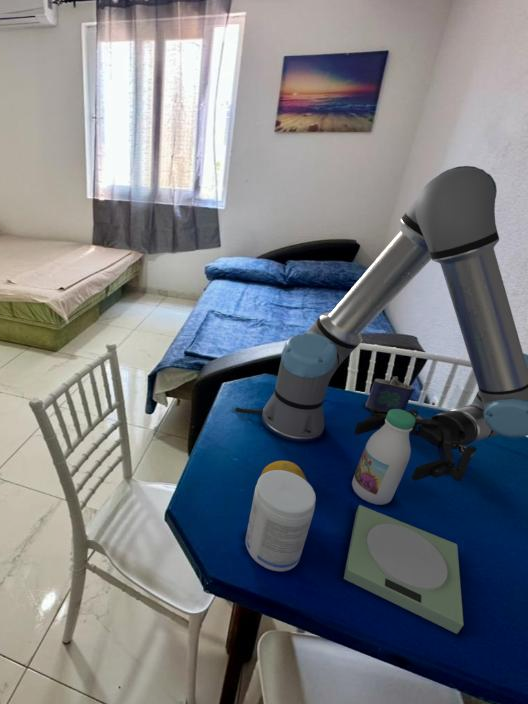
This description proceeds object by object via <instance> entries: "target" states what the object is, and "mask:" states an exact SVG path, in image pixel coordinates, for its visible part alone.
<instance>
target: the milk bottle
mask: <svg viewBox="0 0 528 704" xmlns="http://www.w3.org/2000/svg"><path fill="white" fill-rule="evenodd" d="M385 422H386V423H385V424H384V425H383V426H381V427H380V429H377V430H375V432H374V433H373V434H371V436H370V437H369V439H368V440H367V442H366V444H365V447H364V449H363V451H362V454H361V457H360V458H359V462H358V464H357V467H356V469H355V472H354V475H353V478H352V481H351V486H352V489H353V491H354V493H355V494H356V495H357V496H358V497H359V498H360V499H362V500H364V501H366V502H367V503H370V504H373V505H378V506H382V505H387V504H389V503H390V502H391V501H392V500H393V498H394V496H395V494H396V491H397V489H398V487H399V484H400V482H401V481H402V478H403V476H404V473H405V471H406V468H407V466H408V464H409V461H410V459H411V451H412V450H411V449H412V448H411V442H410V431H411V430H412V428H413V426H414V424H415V417H414V416H413V415H412V414H410V413H408V412H406V411H404V410H400V409H391V410H390V411H389V412H388V413H387V416H386V419H385Z"/></svg>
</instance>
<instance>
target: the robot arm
mask: <svg viewBox="0 0 528 704" xmlns="http://www.w3.org/2000/svg"><path fill="white" fill-rule="evenodd" d="M497 191H498V190H497V183H496V181H495V179H494V177H493V176H492V175H491V174H490V173H488V172H486V171H485V170H484V169H483V168H479V167H478V166H477V167H476V166H473V165H462V166H461V165H460V166H455V167H452V168H449V169H446V170H445V171H443V172H441V173H439V174H438V175H437V176H435V177H434V178H432V179H431V180H430V181H429V182H427V184H425V186H424V187H423V188H422V190H421V191H420V193H419V194H418V196H417V198H416V200H415V201H414V202H413V203H412V205H411V206H410V207H409V208H408V209H407V210H406V212H404V214H403V216H402V217H401V218H400V231H399V232H398V233H397V234H396V235H395V236H394V237H393V239H392V240H391V241H390V242H389V243H388V245H387V246H386V247H385V248H384V249H383V250H382V251H381V252H380V254H379V255H378V256H377V257H376V259H375V260H374V261H373V262H372V263H371V264H370V266H369V267H368V268H367V269H366V270H365V272H364V273H363V274H362V275H361V277H359V279H358V280H357V281H356V282H355V283H354V285H352V287H351V288H350V289H349V291H347V293H346V294H345V295H344V297H342V299H341V300H340V301H339V302H338V303H337V305H336V306H335V307H334V308H333V309H332V311H329V312H328V311H327V312H323V313H321V314H320V315H319V317H318V318H317V319H316V320H315V321H314V322H313V323H312V325H311V326H310V328H309V329H308V330H307V331H306V332H303V333H302V334H299V333H298V334H295V335H292V336H291V337H289V338H288V339H287V340H286V342H285V344H284V347H283V349H282V350H281V355H280V358H281V359H280V363H279V367H278V372H277V377H276V382H275V388H274V391H273V394H272V395H271V396H270V397H269V400H267V402H266V404H265V405H264V407H263V409H256V408H255V409H254V408H242V407H235V412H239V413H245V414H257V415H258V414H259V415H261V417H260V418H261V422H262V424H263V426H264V427H265V428H266V429H267V431H269V432H270V433H271V434H272V435H275V436H276V437H278V438H281V439H282V440H286V441H289V442H294V443H311V442H314V441H317V440H318V439H320V438H321V437H322V435H323V434H324V430H325V425H326V422H327V420H326V419H325V416H324V407H323V405H324V401H325V398H326V394H327V391H328V387H329V384H330V381H331V379H332V377H333V376H334V375H335V373H336V372H337V370H338V368H339V367H340V366H341V364H342V363H343V362H344V361H345V360H346V359H347V357H349V356H350V355H351V353H353V352H354V351H355V349H357V347H358V346H359V345H360V344H361V343H362V341H363V338H362V333H363V332H364V331H365V330H366V328H367V327H369V326H370V324H371V323H373V321H374V320H375V319H376V318H377V317H378V316H379V315H380V314H381V313H382V312H383V311H384V310H385V308H387V307H388V306H389V304H390V303H391V302H392V301H393V300H394V299H396V297H398V295H399V294H400V293H401V292H402V291H403V290H404V289H405V288H406V286H408V285H409V284H410V282H412V280H413V279H414V278H415V277H416V276H417V275H418V274H419V273H420V272H421V271H422V270H423V269H424V268H425V267H426V266H427V264H429V263H430V261H431V260H432V261H433V262H435V263H438V264H439V265H440V267H441V270H442V273H443V277H444V280H445V283H446V286H447V289H448V294H449V297H450V298H451V303H452V307H453V309H454V313H455V316H456V319H457V323H458V325H459V330H460V332H461V336H462V338H463V342H464V345H465V348H466V352H467V356H468V358H469V361H470V364H471V368H472V372H473V374H474V378H475V381H476V384H477V389H478V391H477V392H476V395H475V396H474V399H473V401H472V402H471V404H469V405H465V406H461V407H457V408H453V409H450V410H447V411H444V412H443V411H442V412H440V413H436V414H435V415H433V416H431V417H430V418H428V417H422V416H420V415H419V413H420V411H419V410H417V409H409V410H406V409H405V410H404V411H406V412H408V413H410V414H412V415H413V416H414V417H415V424H414V426H413V428H412V430H411V431H410V432H409V435H412V436H417V437H420V438H421V439H422V440H425V441H426V442H428V443H429V444H430V445H431V446H435V447H436V449H437V453H438V456H439V459H437V460H434V461H431V462H428V463H425V464H422V465H419V466H416V467H415V469H414V471H413V474H412V476H411V479H412V480H413V481H414V482H417V481H419V480H422V479H425V478H428V477H432V478H434V479H438V478H440V477H441V478H442V477H444V476H451V477H452V478H453V480H455V481H456V482H461V481H462V480H463V478H464V476H465V474H466V473H467V471H468V467H469V464H470V461H471V460H472V459H473V457H474V456H475V454H476V453H477V450H478V448H477V447H476V446H474V445H471V444H475V443H478V442H481V441H483V440H486V439H489V438H493V437H497V436H502V437H505V438H525V437H527V436H528V354H527V353H524V352H523V349H522V344H521V340H520V337H519V333H518V331H517V330H518V329H517V327H516V323H515V319H514V315H513V312H512V309H511V306H510V301H509V298H508V294H507V291H506V288H505V287H506V286H505V283H504V280H503V276H502V272H501V270H500V266H499V263H498V258H497V255H496V252H495V247H496V245H497V244H498V243H499V242H500V236H499V232H498V228H497V223H496V213H495V212H496V211H495V209H496V199H497ZM390 410H391V409H382V408H373V410H371V413H370V416H369V417H366V418H364V420H362V421H358V422H357V423H356V425H355V428H354V431H353V434H355V435H356V436H359V435H361V434H365V433H368V432H369V433H370V432H372V431H377V430H379V429H380V428H382V427H383V425H384V424H385V423H386V422H385V419H386V416H387V413H388V412H389V411H390ZM452 450H458V453H459V459H458V462H457V461H454V456H453V451H452ZM456 462H457V465H456ZM455 465H456V466H455Z"/></svg>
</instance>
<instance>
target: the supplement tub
mask: <svg viewBox="0 0 528 704" xmlns="http://www.w3.org/2000/svg"><path fill="white" fill-rule="evenodd" d="M316 501H317V497H316V492H315V490H314V488H313V486H312V485H311V484H310V483H309V482H308V481H307V479H306V480H304V479H303V478H301V477H300V476H298V475H296V474H294V473H291V472H288V471H283V470H273V471H268V472H266V473H264V474H263V475H261V474H260V476H259V478H258V480H257V483H256V485H255V488H254V493H253V498H252V504H251V509H250V514H249V519H248V525H247V530H246V534H245V535H246V536H245V546H246V549H247V551H248V553H249V555H250V557H251V558H252V559H253V560H254V561H255V562H256V564H259V565H260V566H262V567H264V568H265V569H267V570H269V571H273V572H287V571H290V570H292V569H294V568H295V567H296V566H297V565H298V564H299V562H300V560H301V557H302V553H303V550H304V547H305V543H306V540H307V536H308V533H309V530H310V527H311V523H312V520H313V517H314V512H315V508H316Z"/></svg>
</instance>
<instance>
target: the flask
mask: <svg viewBox="0 0 528 704" xmlns="http://www.w3.org/2000/svg"><path fill="white" fill-rule="evenodd" d="M391 378H392V379H390V380H388V379H382V378H375V379H374V381H373V383H372V386H371V389H370V391H369V394H368V398H367V399H366V403H365V409H368V410H370V411H372V410H373V408H382V409H400V410H406V408H407V407H408V403H409V401H410V399H411V397H412V394H413V392H414V388H413V386H412V385H409V384H407V383H405V382H404V383H402V382H401V381H400V380H398V379H399V377H398V376H396V375H395V376H394V375H393V376H392V377H391Z"/></svg>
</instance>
